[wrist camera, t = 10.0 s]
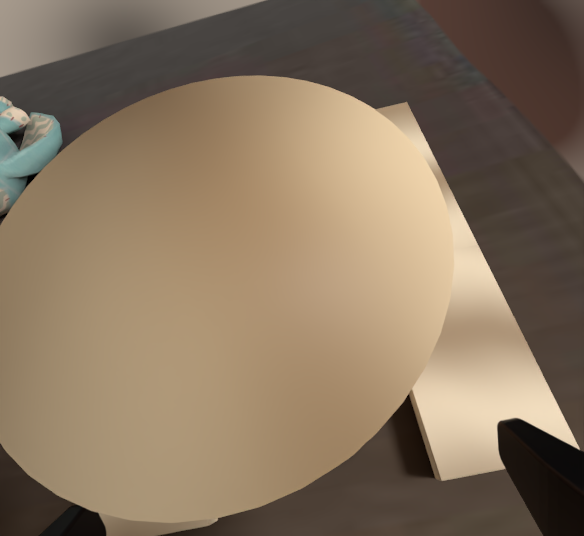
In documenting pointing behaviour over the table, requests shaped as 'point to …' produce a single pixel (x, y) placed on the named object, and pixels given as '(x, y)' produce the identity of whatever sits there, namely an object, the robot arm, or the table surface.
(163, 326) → the cord reel
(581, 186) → the table surface
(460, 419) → the shelf board
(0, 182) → the stuffed animal
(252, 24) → the table surface
